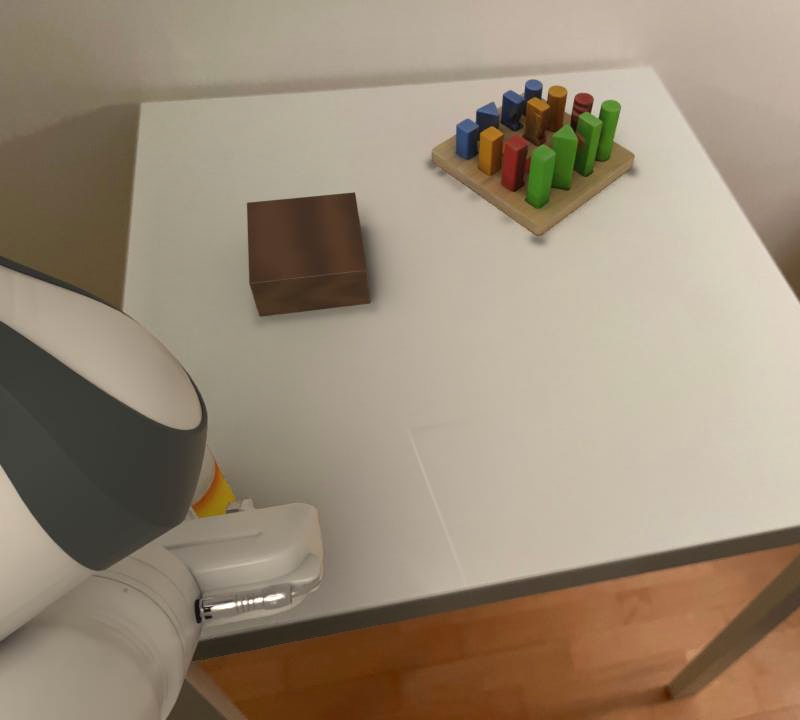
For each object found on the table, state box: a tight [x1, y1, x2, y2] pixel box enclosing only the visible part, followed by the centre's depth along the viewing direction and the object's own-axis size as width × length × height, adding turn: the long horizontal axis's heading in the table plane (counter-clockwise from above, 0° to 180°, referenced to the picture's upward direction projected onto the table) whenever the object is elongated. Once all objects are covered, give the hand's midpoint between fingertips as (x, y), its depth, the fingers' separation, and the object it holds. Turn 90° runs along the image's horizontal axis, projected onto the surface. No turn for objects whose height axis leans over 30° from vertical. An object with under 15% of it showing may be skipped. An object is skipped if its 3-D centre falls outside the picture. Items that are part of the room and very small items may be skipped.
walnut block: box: [246, 192, 371, 317], centre depth 75 cm, size 11×11×5 cm
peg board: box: [431, 78, 635, 236], centre depth 85 cm, size 18×17×9 cm
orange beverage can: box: [184, 442, 237, 521], centre depth 54 cm, size 6×6×15 cm
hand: (169, 522), depth 49 cm, fingers open, 8 cm apart
